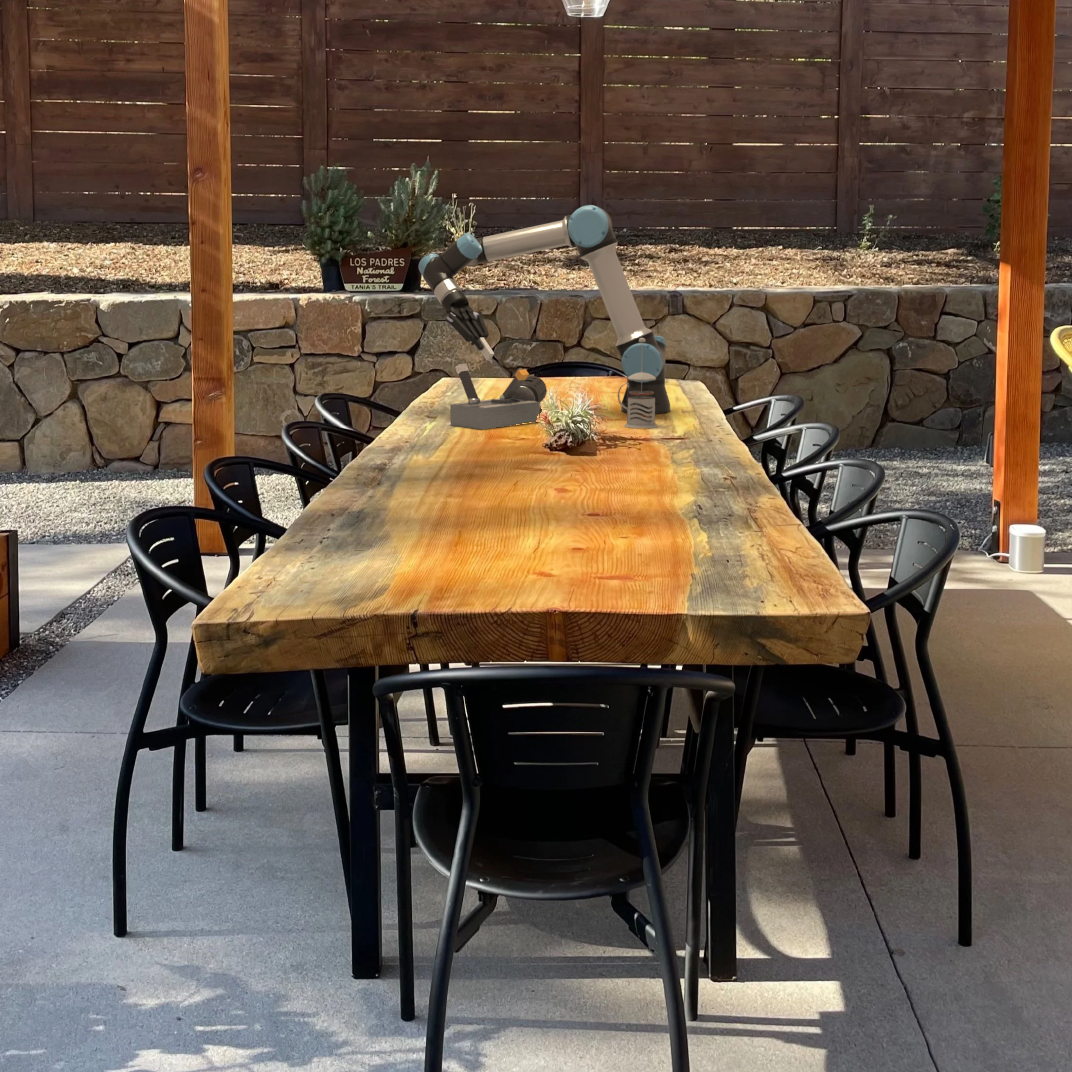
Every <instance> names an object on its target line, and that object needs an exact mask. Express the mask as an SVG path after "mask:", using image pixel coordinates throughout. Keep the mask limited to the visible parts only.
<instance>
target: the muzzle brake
mask: <svg viewBox="0 0 1072 1072" xmlns="http://www.w3.org/2000/svg"><path fill="white" fill-rule="evenodd" d="M547 390H548V389H547V385H546V383H545V381H544V380H543V378H542V379H541V377H538V376H535V375H530V376H528V377H527V378H526V380H524V381H523V382H522V384H521V385H520V386H519V388H518V389H517V391H516V392H515V393H514V395H513V396H512V397H511V398H513V399H520V400H527V401H536V402H540V403H542V401H544V399H545V397H546V396H547Z"/></svg>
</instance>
